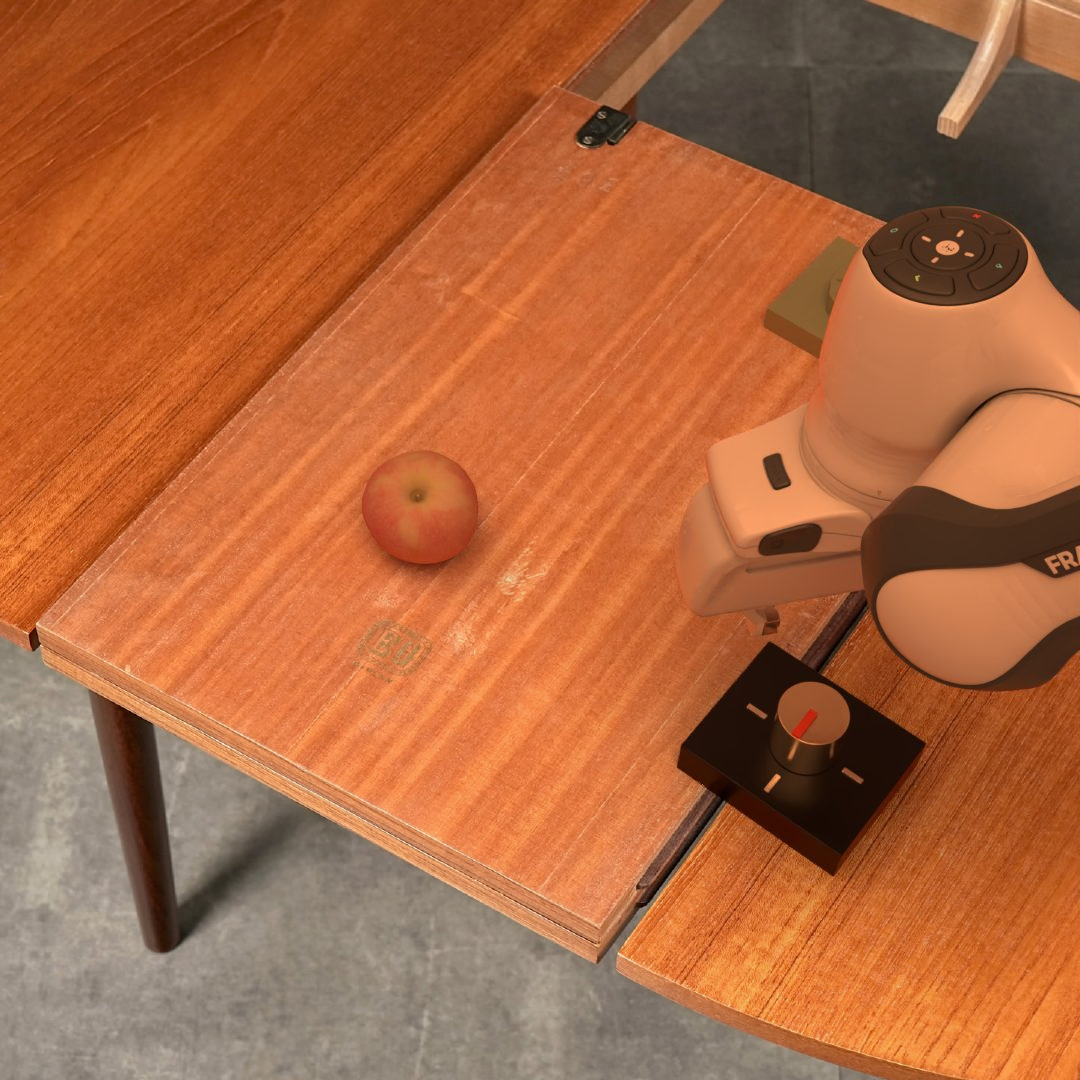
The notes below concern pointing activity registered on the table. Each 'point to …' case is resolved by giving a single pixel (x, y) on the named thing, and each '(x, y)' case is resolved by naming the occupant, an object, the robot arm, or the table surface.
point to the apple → (421, 507)
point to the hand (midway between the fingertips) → (838, 612)
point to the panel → (782, 795)
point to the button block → (811, 298)
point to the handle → (809, 728)
